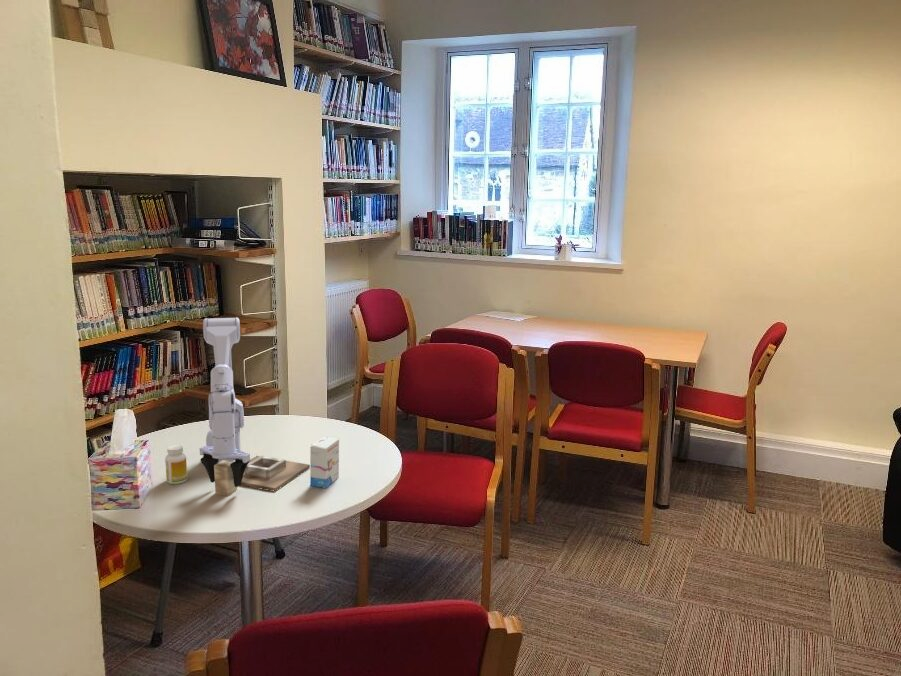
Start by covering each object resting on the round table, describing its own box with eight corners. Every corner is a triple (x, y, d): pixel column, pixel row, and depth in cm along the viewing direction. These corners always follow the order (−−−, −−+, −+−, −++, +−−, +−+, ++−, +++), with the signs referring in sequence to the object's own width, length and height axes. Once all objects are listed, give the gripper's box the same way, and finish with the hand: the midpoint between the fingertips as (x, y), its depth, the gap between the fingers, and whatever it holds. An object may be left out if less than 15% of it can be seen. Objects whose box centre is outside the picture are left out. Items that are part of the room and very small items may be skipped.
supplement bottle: (191, 478, 206) (189, 445, 203) (178, 485, 201) (176, 452, 198) (175, 475, 207) (173, 442, 205) (162, 482, 202) (160, 449, 200)
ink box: (326, 489, 201) (325, 448, 198) (309, 486, 202) (308, 445, 199) (339, 477, 209) (339, 437, 206) (323, 474, 210) (323, 435, 207)
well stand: (219, 481, 204) (218, 469, 203) (257, 458, 221) (256, 447, 220) (275, 491, 198) (274, 479, 197) (309, 467, 215) (309, 456, 214)
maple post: (215, 493, 196) (214, 465, 195) (224, 487, 200) (223, 460, 198) (228, 495, 195) (226, 467, 193) (237, 490, 199) (235, 462, 197)
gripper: (190, 436, 193) (193, 484, 196) (237, 443, 188) (239, 493, 191) (208, 427, 199) (210, 474, 202) (253, 435, 194) (255, 483, 197)
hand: (226, 483), depth 197 cm, fingers open, 7 cm apart
